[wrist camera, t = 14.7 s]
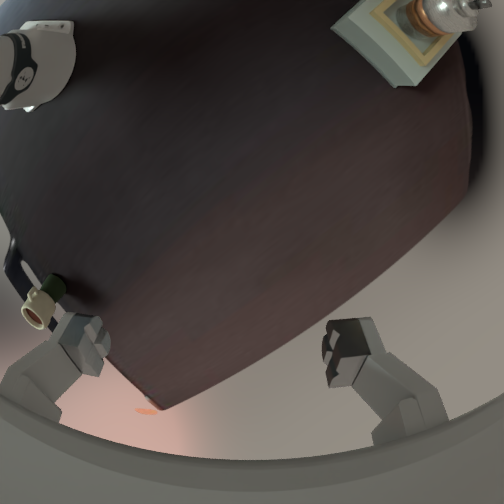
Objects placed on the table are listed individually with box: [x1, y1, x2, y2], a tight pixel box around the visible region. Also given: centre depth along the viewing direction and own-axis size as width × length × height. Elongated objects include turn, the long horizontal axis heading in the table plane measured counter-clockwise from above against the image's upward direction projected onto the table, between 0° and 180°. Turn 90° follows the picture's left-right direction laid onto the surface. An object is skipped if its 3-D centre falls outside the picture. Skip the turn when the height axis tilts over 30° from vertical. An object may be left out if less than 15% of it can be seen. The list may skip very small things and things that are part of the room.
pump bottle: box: [396, 0, 492, 40], centre depth 14 cm, size 6×6×16 cm
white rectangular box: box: [330, 0, 462, 88], centre depth 23 cm, size 14×17×8 cm
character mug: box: [21, 274, 66, 330], centre depth 48 cm, size 11×7×13 cm, turn 173°
